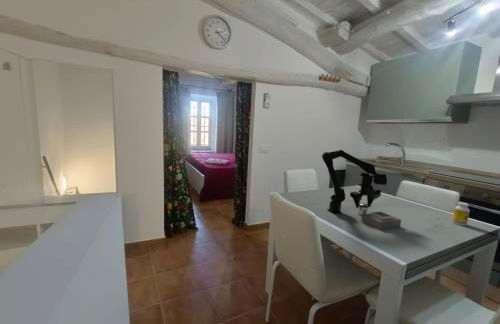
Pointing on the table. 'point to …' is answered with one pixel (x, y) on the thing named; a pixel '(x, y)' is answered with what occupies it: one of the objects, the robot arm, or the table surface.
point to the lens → (362, 209)
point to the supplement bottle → (461, 214)
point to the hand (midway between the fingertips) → (363, 207)
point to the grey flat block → (381, 220)
